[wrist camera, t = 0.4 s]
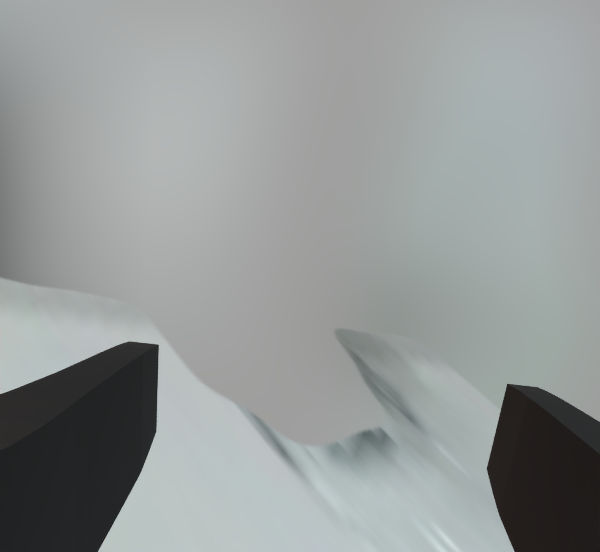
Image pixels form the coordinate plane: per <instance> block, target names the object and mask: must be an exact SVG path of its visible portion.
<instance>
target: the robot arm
mask: <svg viewBox="0 0 600 552" xmlns="http://www.w3.org/2000/svg"><path fill="white" fill-rule="evenodd" d="M158 350H159V345H156V344H147V343H138V342H126V343H123V344H120V345H117V346H115V347H112V348H110V349H108V350H106V351H103V352H101V353H99V354H97V355H94V356H92V357H90V358H88V359H86V360H83V361H81V362H79V363H77V364H74V365H72V366H70V367H68V368H65V369H63V370H61V371H59V372H56V373H54V374H51V375H49V376H46V377H44V378H41V379H39V380H36V381H34V382H31V383H29V384H26V385H24V386H21V387H19V388H16V389H14V390H11V391H9V392H6V393H3V394H0V552H98V550H99V548H100V547H101V545H102V543H103V541H104V539H105V538H106V536H107V534H108V532H109V530H110V528H111V527H112V525H113V523H114V521H115V519H116V517H117V516H118V514H119V512H120V510H121V508H122V507H123V505H124V503H125V501H126V499H127V497H128V495H129V494H130V492H131V490H132V488H133V486H134V484H135V482H136V481H137V479H138V477H139V475H140V473H141V471H142V468H143V465H144V463H145V460H146V458H147V455H148V453H149V450H150V447H151V444H152V442H153V439H154V436H155V433H156V423H157V386H158ZM487 471H488V475H489V479H490V483H491V487H492V491H493V495H494V499H495V502H496V505H497V509H498V512H499V515H500V518H501V520H502V523H503V525H504V527H505V530H506V532H507V535H508V537H509V539H510V542H511V544H512V546H513V549H514V551H515V552H600V422H599V421H597V420H595V419H594V418H592V417H590V416H589V415H587V414H585V413H584V412H582V411H581V410H579V409H577V408H575V407H574V406H572V405H571V404H569V403H567V402H565V401H564V400H562V399H560V398H558V397H557V396H555V395H553V394H551V393H549V392H547V391H545V390H543V389H540V388H538V387H530V386H521V385H512V384H507V388H506V392H505V396H504V400H503V404H502V408H501V412H500V417H499V421H498V425H497V429H496V433H495V437H494V442H493V446H492V450H491V454H490V458H489V462H488V466H487Z"/></svg>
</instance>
